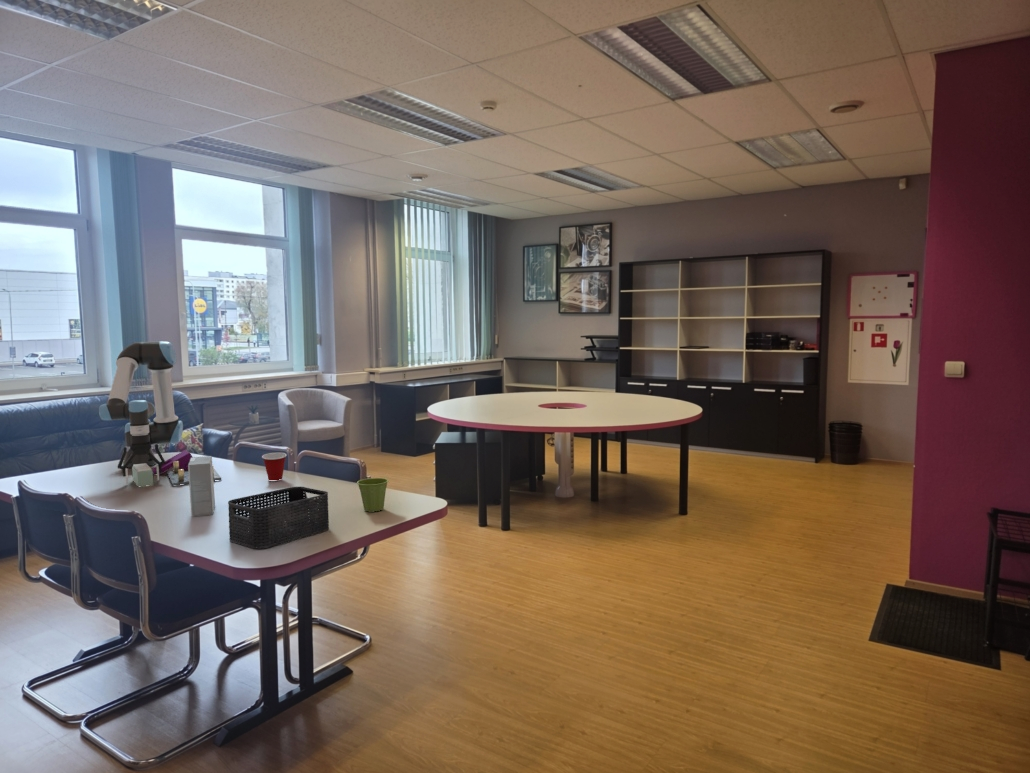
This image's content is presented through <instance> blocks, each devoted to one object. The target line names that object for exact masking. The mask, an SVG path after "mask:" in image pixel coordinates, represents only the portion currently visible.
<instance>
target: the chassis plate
mask: <svg viewBox="0 0 1030 773" xmlns="http://www.w3.org/2000/svg"><path fill="white" fill-rule="evenodd" d="M212 467H213V481H214V482H216V481H215V480H221V481H222V476H221V475H220V474H219V473H218V472H217V471H216V470H215V468H214V465H212ZM172 468H173V470H169V471H168V470H167V471H166V475H167V474H168V475H167V477H168V476H169V477H168V479H169V478H170V479H169V481H170V480H171V481H170V483H171V482H172V483H171V485H172V484H173V485H180V484H189V471H188V469H185V470H184V469H179V461H174V462H173V467H172ZM173 485H172V486H173Z"/></svg>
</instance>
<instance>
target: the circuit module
mask: <svg viewBox="0 0 1030 773" xmlns="http://www.w3.org/2000/svg"><path fill="white" fill-rule="evenodd" d="M152 470H153V469H152V467H151V466H148V465H147V464H146V463H144V464H135V465H133V466H132V468H131V472H132V482H133V481H134V482H135V483H136V484H135V483H134V482H133V483H134V484H135V485H137V486H138V487H139V486H146V485H153V486H154V474H153V471H152ZM137 486H136V487H137ZM138 487H137V488H138ZM146 487H147V486H146ZM139 488H140V487H139Z"/></svg>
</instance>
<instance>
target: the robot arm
mask: <svg viewBox="0 0 1030 773" xmlns="http://www.w3.org/2000/svg"><path fill="white" fill-rule="evenodd" d="M176 353H177V352H176V349H175V346H174V345H173V344H172V343H171V342H169V341H162V340H160V341H159V340H158V341H136V342H133V343H131V344H129V345H127V346H126V347H124V349H123V350H121V351H120V353H119V354H118V356H117V358H116V362H115V364H116V370H115V374H114V377H113V381H112V385H111V387H110V388H111V389H110V392H109V395H108V398H107V399H108V400H107V402H106V403H104V404H103V403H102V404H101V405H99V408H98V414H99V418H100V419H101V420H102V421H122V420H129V422H127V423H126V424H125V426H124V438H125V446H123V449H122V450H123V451H122V454H121V456H120V459H119V462H118V464H117V469H118V470H119V469H120V470H122V472H121V473H122V477H124V478H125V483H126V485H127V484H129V476H128V475H129V472H128V469H132V466H133V465H135V464H144V463H146V464H147V465H148V466H149V465H152V466H154V465H153V464H155V465H156V466H155V467H156V469H157V475H156V480H157V481H160V474H159V473H160V472H162V469H161V466H162V465H163V464H165V463H166V462H165V461H166V460H165V459H164V456H163V455H162V453H161V451H160V450H159V445H165V444H166V445H167V444H168V445H172V444H179V443H180V441H181V440H182V437H183V430H184V424H183V421H182V420H179V416H178V415H176V414H175V413H176V412H175V404H174V394H173V385H172V384H173V383H172V374H171V370H172V369H173V368H174V365H176V363H177V354H176ZM139 366H146V367H147V370H148V371H149V372H150V373H151V381H152V390H153V399H154V400H153V401H154V404H153V403H152V402H151V401H147V400H145V399H137V400H135V399H134V400H130V401H129V402H127V401H128V398H129V394H130V390H131V386H132V383H133V378H134V375H135V371H136V370H138V368H139ZM153 416H155V417H154V418H153V421H151V419H150V418H152V417H153ZM153 450H155V452H156V454H157V455H158V457H159V459H158V458H156V456H155V453H154V451H153ZM159 460H160V461H159ZM126 467H128V468H126ZM149 467H150V466H149Z"/></svg>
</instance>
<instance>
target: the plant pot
mask: <svg viewBox="0 0 1030 773" xmlns="http://www.w3.org/2000/svg"><path fill="white" fill-rule="evenodd" d="M388 482H389V479H387V478H383V477H372V478H364V479H359V480H358V481H357V482H356V484H357V486H358V488H359V491H360V496H361V500H362V505H363V510H365V512H366V511H370V512H369V513H374V512H373V511H376V512H381V511H380V510H382V511H383V510H384V508H385V507H384V506H385V501H386V500H385V498H386V492H387V488H388V486H387V485H388Z"/></svg>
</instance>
